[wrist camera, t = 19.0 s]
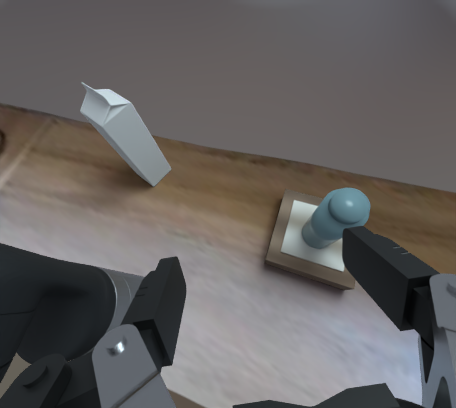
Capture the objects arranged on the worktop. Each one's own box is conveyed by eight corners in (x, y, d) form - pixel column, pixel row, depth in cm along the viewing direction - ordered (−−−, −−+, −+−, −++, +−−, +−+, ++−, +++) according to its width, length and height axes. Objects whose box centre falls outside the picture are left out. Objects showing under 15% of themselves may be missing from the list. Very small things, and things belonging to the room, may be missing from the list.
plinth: (343, 290, 37) (355, 288, 33) (264, 263, 40) (265, 258, 36) (354, 216, 42) (365, 208, 38) (282, 197, 45) (285, 188, 41)
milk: (154, 187, 49) (86, 111, 29) (137, 174, 51) (62, 94, 31) (172, 168, 51) (120, 84, 30) (155, 156, 52) (95, 69, 32)
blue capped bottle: (329, 253, 35) (372, 232, 23) (298, 242, 36) (322, 217, 24) (336, 224, 37) (379, 190, 24) (305, 215, 38) (331, 178, 26)
